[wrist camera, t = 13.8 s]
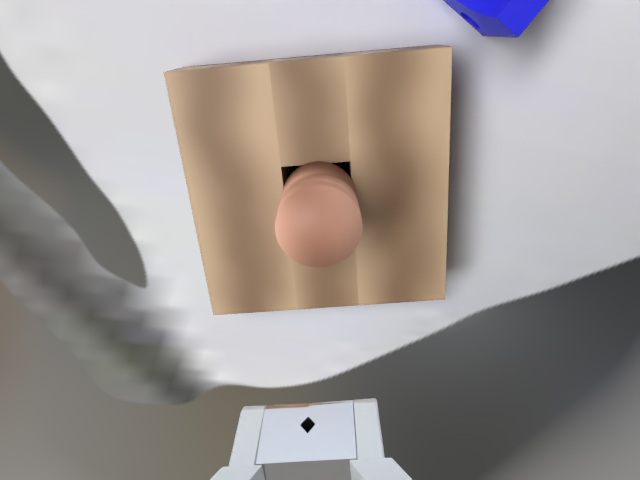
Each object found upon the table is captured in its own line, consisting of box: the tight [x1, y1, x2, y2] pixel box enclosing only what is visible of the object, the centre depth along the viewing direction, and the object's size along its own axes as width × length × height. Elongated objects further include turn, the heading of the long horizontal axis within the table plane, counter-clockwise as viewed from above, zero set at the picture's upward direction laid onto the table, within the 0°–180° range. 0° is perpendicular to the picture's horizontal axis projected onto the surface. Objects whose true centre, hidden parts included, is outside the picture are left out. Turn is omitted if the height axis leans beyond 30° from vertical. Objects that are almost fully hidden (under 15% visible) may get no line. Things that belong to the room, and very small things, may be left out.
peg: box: [275, 161, 363, 268], centre depth 29 cm, size 5×5×8 cm
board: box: [164, 45, 452, 315], centre depth 31 cm, size 16×16×4 cm
